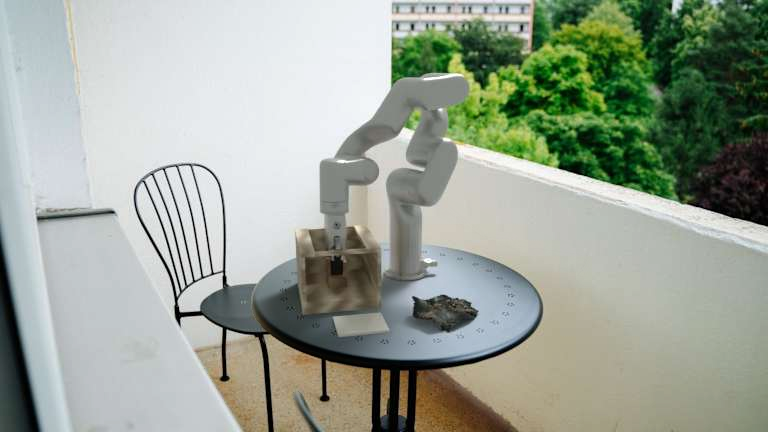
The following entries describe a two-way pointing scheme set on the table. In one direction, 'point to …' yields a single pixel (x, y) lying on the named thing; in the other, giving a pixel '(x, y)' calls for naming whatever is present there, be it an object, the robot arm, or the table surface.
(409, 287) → the table surface
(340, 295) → the slot box
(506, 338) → the table surface
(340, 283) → the walnut block
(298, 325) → the table surface
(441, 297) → the decorative rock
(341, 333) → the tile pad
